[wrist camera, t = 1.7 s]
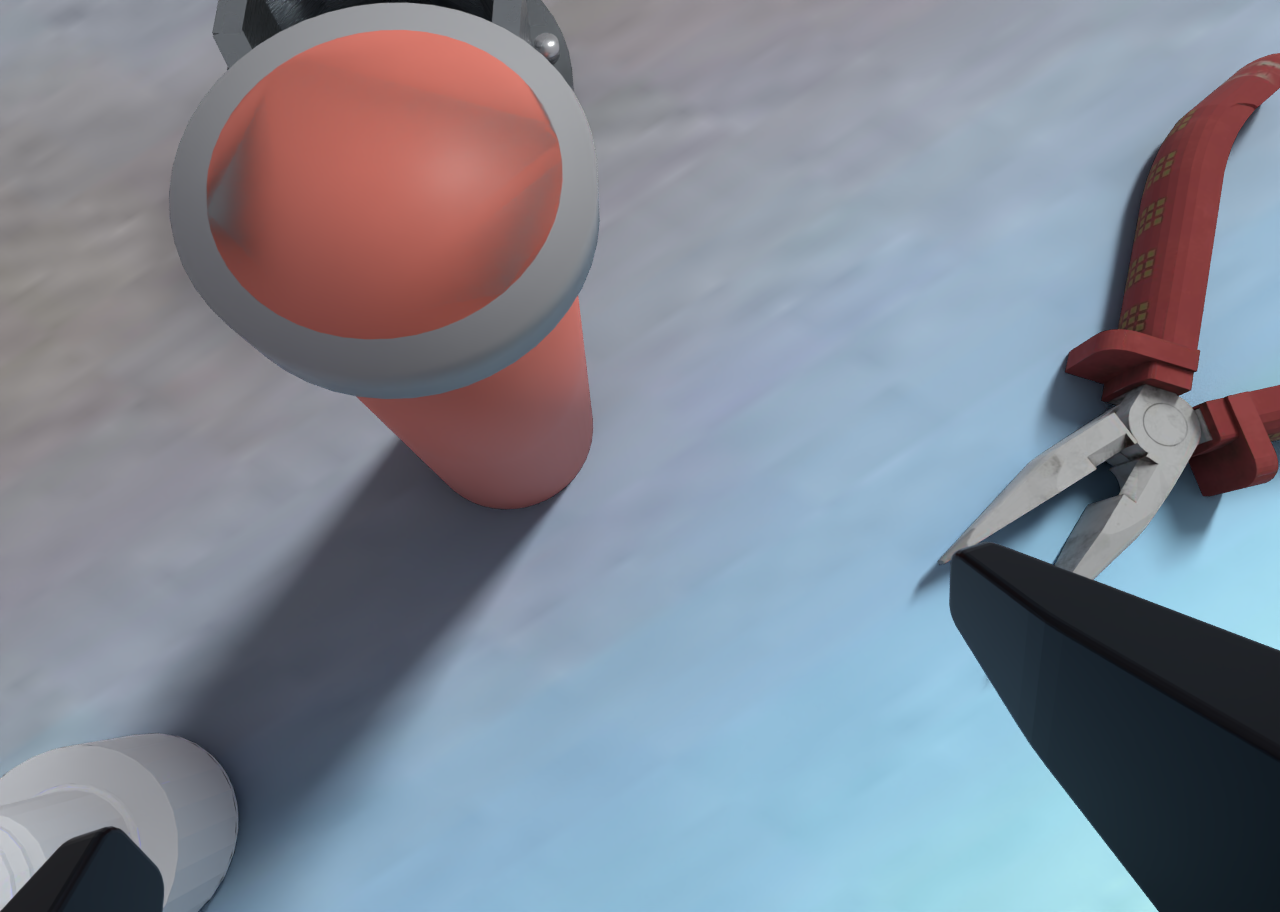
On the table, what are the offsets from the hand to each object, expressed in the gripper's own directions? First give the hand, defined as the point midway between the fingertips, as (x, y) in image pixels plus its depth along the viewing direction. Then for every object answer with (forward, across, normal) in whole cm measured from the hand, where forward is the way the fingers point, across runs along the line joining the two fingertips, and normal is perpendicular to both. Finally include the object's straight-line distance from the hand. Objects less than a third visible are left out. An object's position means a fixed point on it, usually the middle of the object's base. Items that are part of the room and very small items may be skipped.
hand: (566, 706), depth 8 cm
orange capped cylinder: (+15, 0, +4) cm, 16 cm away
